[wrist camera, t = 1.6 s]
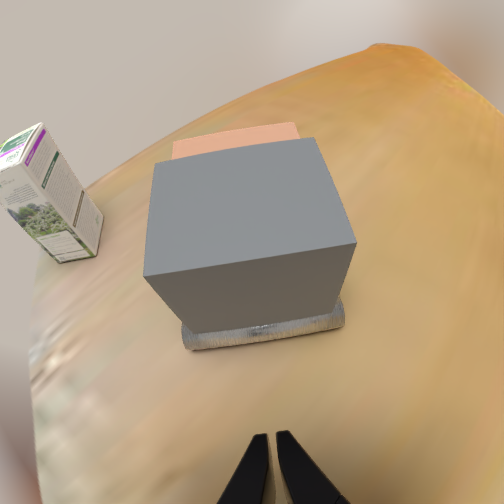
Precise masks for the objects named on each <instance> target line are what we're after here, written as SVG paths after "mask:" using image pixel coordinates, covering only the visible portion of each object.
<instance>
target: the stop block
mask: <svg viewBox="0 0 504 504" xmlns="http://www.w3.org/2000/svg"><path fill="white" fill-rule="evenodd" d="M293 139H301V138H300V136H299V134H298V131H297V129H296V126H295V124H294V122H287V123H279V124H271V125H263V126H256V127H249V128H243V129H236V130H230V131H224V132H219V133H213V134H208V135H203V136H198V137H193V138H188V139H183V140H179V141H174V143H173V152H172V160H173V159H178V158H183V157H187V156H192V155H197V154H203V153H208V152H213V151H219V150H224V149H230V148H236V147H242V146H249V145H255V144H262V143H269V142H277V141H285V140H293Z"/></svg>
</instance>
